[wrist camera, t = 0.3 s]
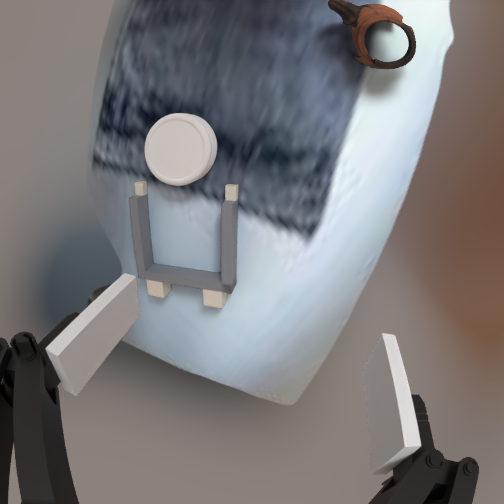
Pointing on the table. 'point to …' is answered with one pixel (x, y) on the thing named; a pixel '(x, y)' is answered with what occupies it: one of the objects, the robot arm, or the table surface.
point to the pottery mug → (365, 19)
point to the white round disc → (180, 148)
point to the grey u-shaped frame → (166, 275)
